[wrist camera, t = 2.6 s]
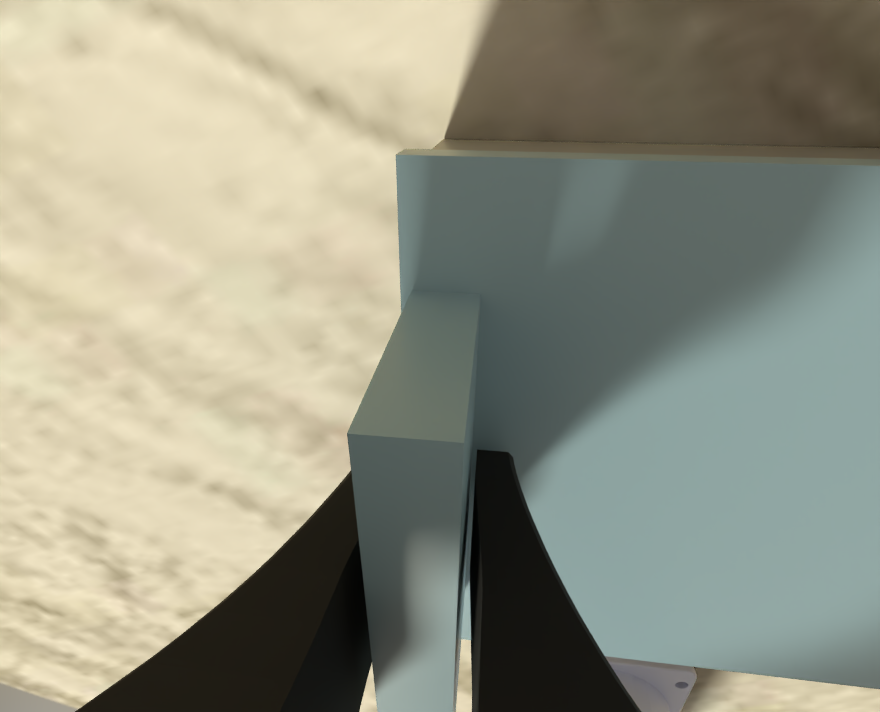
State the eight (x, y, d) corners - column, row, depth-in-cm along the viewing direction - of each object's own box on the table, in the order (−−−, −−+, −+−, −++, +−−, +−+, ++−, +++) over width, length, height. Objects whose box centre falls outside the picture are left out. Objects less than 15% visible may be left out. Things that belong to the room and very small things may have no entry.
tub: (1050, 554, 16) (1207, 688, 12) (439, 498, 18) (423, 599, 14) (1422, 158, 10) (1932, 198, 6) (443, 139, 12) (418, 161, 8)
